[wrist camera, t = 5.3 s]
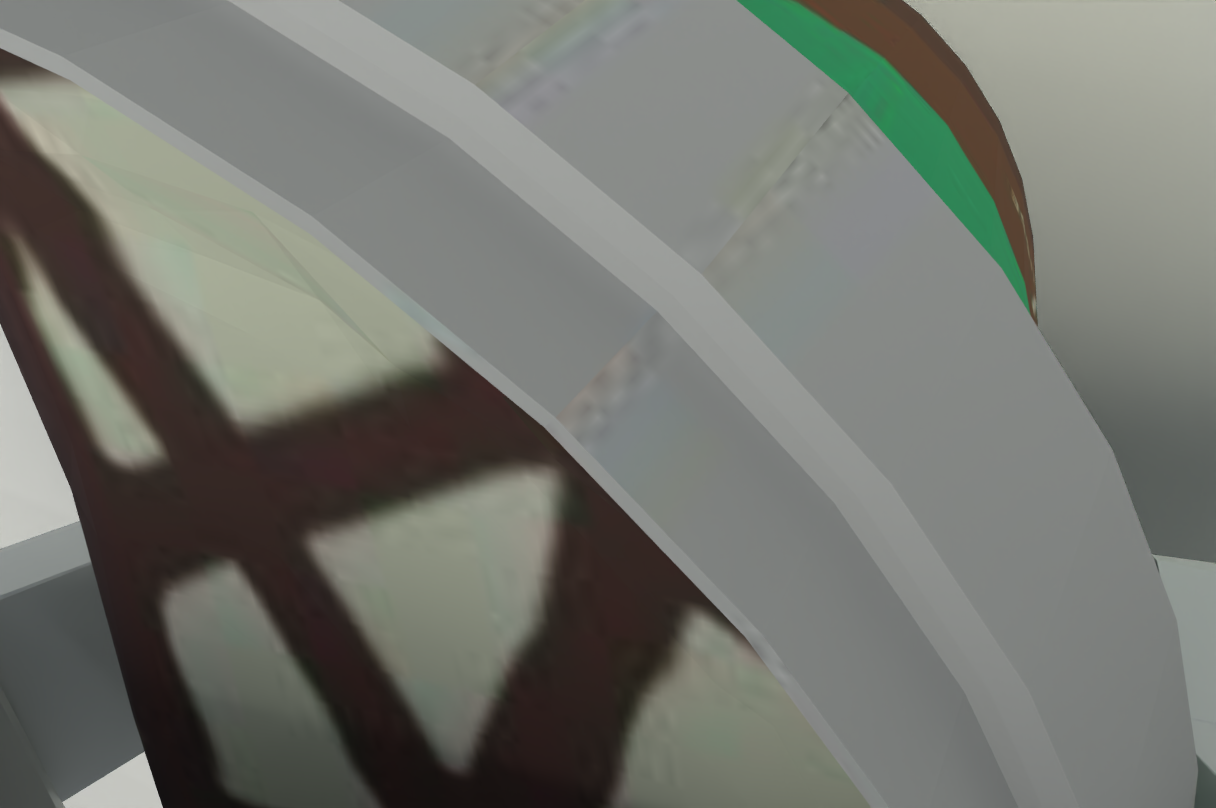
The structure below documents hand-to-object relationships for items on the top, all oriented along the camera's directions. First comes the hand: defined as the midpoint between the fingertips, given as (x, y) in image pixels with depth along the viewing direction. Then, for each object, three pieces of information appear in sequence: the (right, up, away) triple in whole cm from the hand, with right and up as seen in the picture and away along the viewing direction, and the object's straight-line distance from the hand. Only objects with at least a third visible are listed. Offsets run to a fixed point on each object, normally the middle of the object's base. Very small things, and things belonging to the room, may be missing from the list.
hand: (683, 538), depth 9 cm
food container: (+3, +3, +4) cm, 6 cm away
